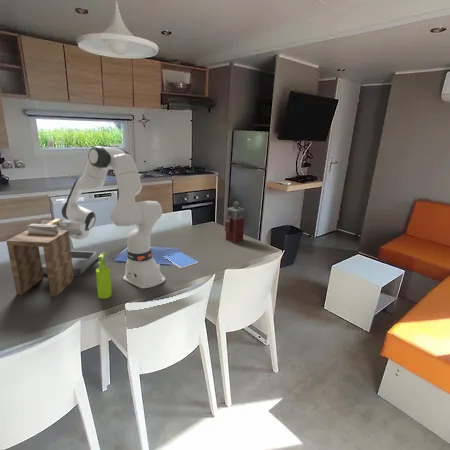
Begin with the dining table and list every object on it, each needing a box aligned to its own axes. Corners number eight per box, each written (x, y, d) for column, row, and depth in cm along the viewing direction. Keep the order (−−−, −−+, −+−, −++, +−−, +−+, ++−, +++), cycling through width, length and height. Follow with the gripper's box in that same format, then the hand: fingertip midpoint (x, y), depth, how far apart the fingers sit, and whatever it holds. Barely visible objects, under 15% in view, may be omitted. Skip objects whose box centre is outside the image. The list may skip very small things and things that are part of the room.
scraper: (47, 222, 151) (46, 215, 150) (71, 223, 151) (70, 217, 150) (28, 233, 137) (27, 225, 135) (54, 234, 136) (53, 227, 135)
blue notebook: (162, 258, 180) (162, 256, 180) (180, 253, 189) (180, 251, 188) (180, 269, 167) (180, 267, 167) (198, 263, 175) (198, 261, 175)
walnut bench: (38, 277, 150) (30, 228, 142) (74, 279, 150) (68, 230, 142) (16, 294, 135) (6, 240, 127) (56, 296, 135) (48, 242, 127)
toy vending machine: (222, 240, 212) (224, 201, 203) (234, 237, 219) (236, 199, 210) (231, 244, 205) (233, 204, 197) (243, 240, 213) (245, 202, 204)
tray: (64, 256, 175) (63, 250, 174) (98, 258, 175) (97, 251, 174) (41, 273, 154) (40, 266, 153) (80, 275, 154) (79, 268, 153)
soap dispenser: (114, 290, 142) (111, 251, 136) (109, 298, 135) (106, 258, 129) (101, 290, 141) (98, 251, 135) (96, 298, 135) (92, 257, 129)
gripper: (50, 221, 160) (34, 215, 147) (88, 223, 160) (76, 217, 147) (48, 233, 159) (32, 227, 146) (86, 234, 159) (74, 229, 145)
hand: (54, 222), depth 146 cm, fingers closed on scraper, 2 cm apart
